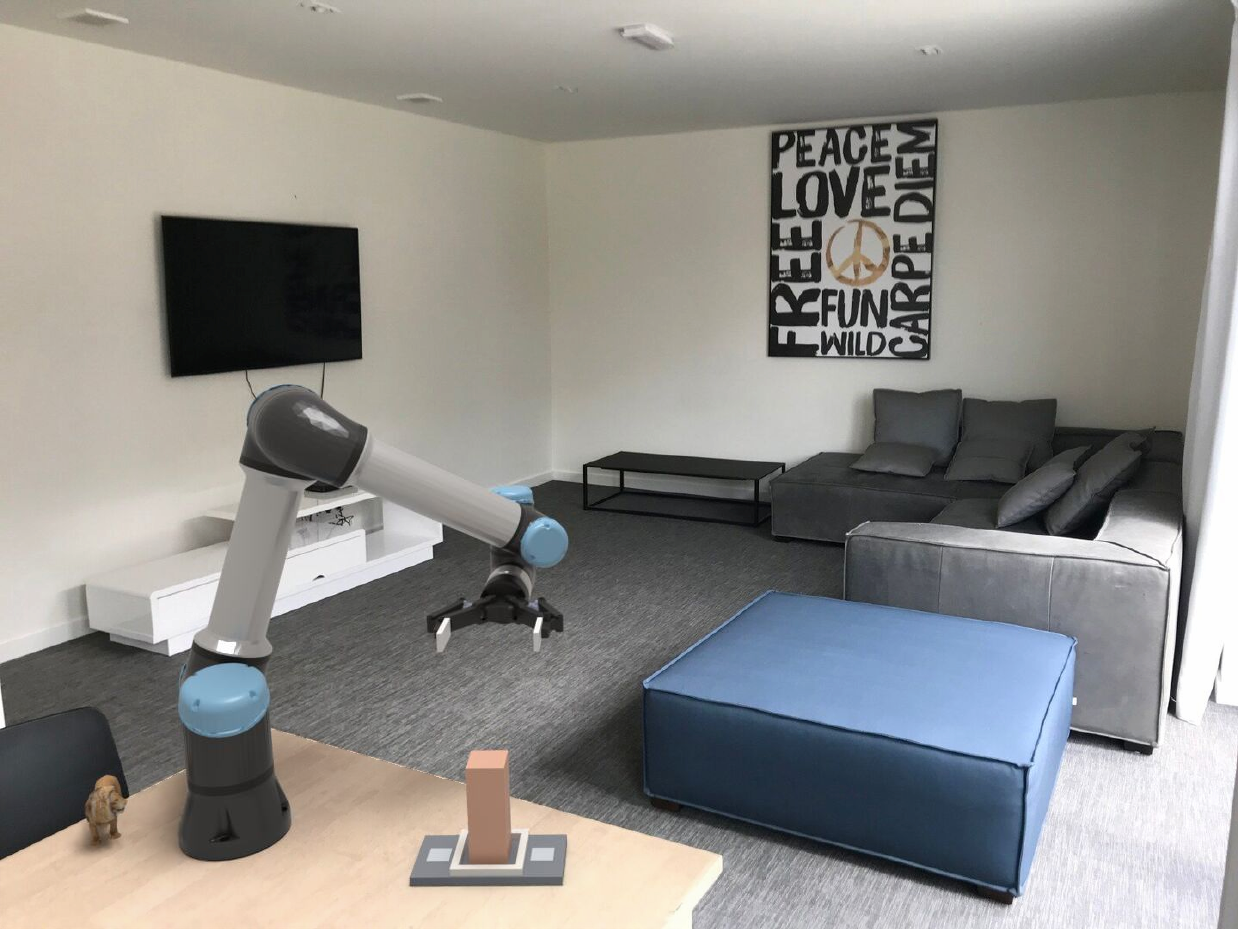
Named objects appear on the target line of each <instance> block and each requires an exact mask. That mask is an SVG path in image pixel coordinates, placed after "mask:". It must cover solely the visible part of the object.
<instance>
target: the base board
mask: <svg viewBox="0 0 1238 929" xmlns="http://www.w3.org/2000/svg"><path fill="white" fill-rule="evenodd" d="M511 842H512V845H511V850H510V854H509V859H508V864H507V865H470V860H469V838H468V828H467V829H461V831H460V834H432V835H431V834H426V835H424V838H423V839H422V842H421V845H420V847H419V850H418V852H417V856H416V859H415V862H414V864H413V868H412V869H411V872H410V875H409V887H433V886H434V887H441V886H445V887H446V886H449V887H451V886H453V887H454V886H459V887H460V886H461V887H462V886H464V887H465V886H467V887H470V886H472V887H473V886H474V887H475V886H479V887H480V886H563V884H564V877H565V876H564V874H565V867H566V866H565V865H566V858H567V856H566V855H567V846H568V834H566V833H565V834H564V833H562V834H559V833H557V834H552V833H550V834H530V828H511Z"/></svg>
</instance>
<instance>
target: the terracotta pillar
mask: <svg viewBox="0 0 1238 929" xmlns="http://www.w3.org/2000/svg"><path fill="white" fill-rule="evenodd" d="M509 760H510V759H509V750H508V749H504V750H500V749H498V750H497V749H495V750H493V749H492V750H491V749H490V750H487V749H486V750H483V749H482V750H480V749H479V750H471V751H470V754H469V757H468V759H467V763H466V766H465V769H464V770H465V789H466V790H465V791H466V810H467V812H466V813H467V829H468V838H469V860H470V865H507V864H508V859H509V854H510V850H511V845H512V842H511V829H512V821H511V820H512V818H511V791H510V765H509V764H510V763H509Z"/></svg>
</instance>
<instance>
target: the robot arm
mask: <svg viewBox="0 0 1238 929" xmlns="http://www.w3.org/2000/svg"><path fill="white" fill-rule="evenodd" d="M246 427H247V429H246V434H245V437H244V441H243V445H242V447H241V448H242V449H241V452H240V457H239V461H238V466H240V468H241V470H242V471H243V473H244V474H245V479H244V484H243V489H242V491H241V496H240V498H239V503H238V508H237V512H236V515H235V518H234V522H233V527H232V530H231V534H230V538H229V542H228V546H227V550H226V553H225V556H224V557H225V558H224V560H223V564H222V569H221V574H220V576H219V581H218V585H217V588H216V592H215V596H214V599H213V600H214V601H213V603H212V608H211V611H210V614H209V615H210V616H209V619H208V624H207V626H205V627H204V628H202V629H200V630H199V631H198V632H196V633H195V634H194V635H193V638H192V643H191V647H190V651H189V654H188V657H187V659H186V661H185V662H184V665H183V666H182V668H181V670H180V674H179V678H178V693H179V694H178V703H177V711H178V716H179V718H180V723H181V725H180V726H181V733H182V734H181V736H182V744H183V754H184V764H185V774H186V781H187V782H186V783H187V792H186V796H185V801H184V804H183V807H182V812H181V816H180V817H181V818H180V821H179V823H178V828H177V830H178V831H177V833H178V841H179V847H180V849H181V851H183V853H185V854H186V855H187V856H189V857H192V858H196V859H199V860H205V861H206V860H207V861H222V860H231V859H237V858H241V857H244V856H248V855H253V854H255V853H257V852H260V851H262V850H264V849H266V848H268V847H269V846H272V845H273V844H275V843H276V842H278V841H279V840H281V838H283V837H284V836H285V834H287V832H288V831H289V829H290V827H291V825H292V815H291V814H292V813H291V806H290V803H289V802H290V801H289V800H288V798H287V796H286V793H285V792H284V789H283V787H282V785H281V784H280V781H279V779H278V776H277V775H276V772H275V765H274V764H275V763H274V761H275V760H274V751H273V739H272V728H271V727H272V726H271V725H272V724H271V716H270V714H271V713H270V700H271V697H270V695H271V694H270V690H269V686H268V682H267V680H266V676H267V672H268V669H269V664H270V661H271V657H272V654H273V653H272V652H273V645H272V644H271V642H270V641H269V640H268V638H267V632H268V628H269V625H270V620H271V617H272V613H273V610H274V606H275V602H276V598H277V594H278V589H279V587H280V583H281V582H280V581H281V578H282V574H283V571H284V567H285V563H286V561H287V560H286V559H287V557H288V552H289V548H290V545H291V541H292V538H293V537H292V536H293V534H294V533H293V532H294V529H295V526H296V525H295V524H296V522H297V521H296V520H297V516H298V513H299V510H300V505H301V502H302V498H303V495H304V491H305V489H307V488H308V487H310V486H312V485H313V484H315V483H317V481H320V482H323V483H326V484H328V485H330V486H332V487H333V486H334V487H335V488H338V489H340V490H341V489H343V488H347V487H349V486H352V487H353V488H356V489H358V490H361V491H364V492H366V493H368V494H371V495H373V496H375V497H378V498H380V499H382V500H384V501H387V502H389V503H392V504H394V505H397V506H399V507H402V508H404V509H407V510H409V511H410V512H411V511H412V512H414V513H416V514H418V515H421V516H423V517H426V518H428V519H431V520H432V521H435V522H437V523H440V524H441V525H444V526H446V527H449V528H451V529H454V530H457V531H459V532H462V533H464V534H466V535H468V536H470V537H473V538H476V539H478V540H481V541H482V542H485V543H487V544H489V549H490V550H489V556H490V558H489V559H490V560H489V561H490V574H489V576H488V578H487V580H486V582H485V585H484V587H483V589H482V591H481V593H480V596H479V598H478V599H477V600H475V601H474V602H468V600H467V599H466V597H464V596H463V597H459V598H457V599H456V601H454V602H452V603H450V604H448V605H446V606H444V607H442V608H440V609H438V610H435V611H434V612H432V613H430V614H428V615H427V616H426V630H427V631H426V632H427V633H428V634H433V638H434V640H436V653H443V652H444V650H445V648H446V646H447V643H448V642H449V640H450V638H451V637H452V636H451V633H452V632H456V631H458V630H460V629H463V628H466V627H469V626H472V625H477V626H481V625H483V624H488V623H495V624H499V625H510V624H516V625H517V626H520V625H525V626H527V627H529V628H531V629H533V631H532V632H533V633H532V634H533V637H532V639H533V640H532V641H533V652H540V649H541V646H542V645H541V644H542V641H543V639H549V638H550V636H551V633H552V631H555V632H556V633H563V632H564V629H565V628H564V614H563V613H562V612H560V611H558V610H557V609H556V608H555V607H554V606H552V605H551V604H549V603H548V602H547V601H546V597H544V596H540V597H538V598H537V599H535V600H534V602H530V598H531V595H532V590H533V588H534V586H535V584H536V581H537V579H538V568H542V569H543V568H550V567H553V566H555V565H557V564H558V563H560V562H561V560H563V558H564V557H565V555H566V553H567V550H568V549H569V548H568V547H569V537H568V534H567V532H566V530H565V528H564V527H563V526H562V525H561V524H560V523H559V522H558V521H557V520H555V519H554V518H551V517H550V516H549V517H548V516H547V515H546V514H543V513H542V512H541V511H539V510H537V509H536V508H534V506H535V501H534V495H533V491H532V489H531V488H529V487H528V486H525V485H519V484H518V485H517V484H516V485H515V484H514V485H513V484H512V485H510V484H509V485H502V486H496V487H494V488H493V489H487V488H485V487H483V486H480V485H478V484H475V483H474V482H472V481H469V480H467V479H465V478H463V477H461V476H458V475H456V474H454V473H451V472H450V471H447V470H445V469H443V468H441V467H439V466H436V465H434V464H432V463H430V462H427V461H425V460H424V459H421V458H419V457H417V456H414V455H412V454H410V453H408V452H405V451H403V450H401V449H399V448H396V447H395V446H392V445H390V444H388V443H386V442H383V441H381V440H379V439H377V438H375V437H374V436H372V433H371V431H370V428H369V427H367V426H365V425H363V424H360V423H359V422H357V421H355V420H352V418H351V419H350V418H349V417H347V416H346V415H344V414H343V413H341V412H340V411H338V410H337V409H336V408H334V407H333V406H332V405H331V404H329V403H328V402H327V400H325V399H323V398H322V397H320V395H318V393H316V392H315V391H314V390H312V389H311V388H309V387H305V386H302V385H301V384H294V383H281V384H277V385H276V384H275V385H273V386H270V387H268V388H267V389H265V390H263V391H261V392H260V393H259V394H258V395H257V396H256V397H255V398H254V399H253V401H251V403H250V406H249V408H248V410H247V413H246Z"/></svg>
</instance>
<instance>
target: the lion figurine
mask: <svg viewBox="0 0 1238 929" xmlns="http://www.w3.org/2000/svg"><path fill="white" fill-rule="evenodd" d="M95 782H96V783H95V785H94V790H93V791H91V793H90V794H89V795H88V799H87V800H86V802H85V804H84V814H85V819H86V822H87V823H88V827H89V830H90V834H91V836H92V839H91V840H90V845H91V846H96V845H99V844H100V842H101V835H100V833H99V829H98V828H104V827H107V826H109V831H108V832H109V833H108V834H109V836H110V837H111V839H112V840H115V839H118V838H120V837H121V836H122V833H121V832H119V831H118V815H117V814H118V813H119V814H122V813H123V812H124V810H125V807H126V805H127V803H128V799H127V798H123V795H122V789H121V785H120V783H119V781H118V778H117V777H116V776H114V775H110V774H105V775H103V776H102V777H100V778H99V779H98V780H96V781H95Z"/></svg>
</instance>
